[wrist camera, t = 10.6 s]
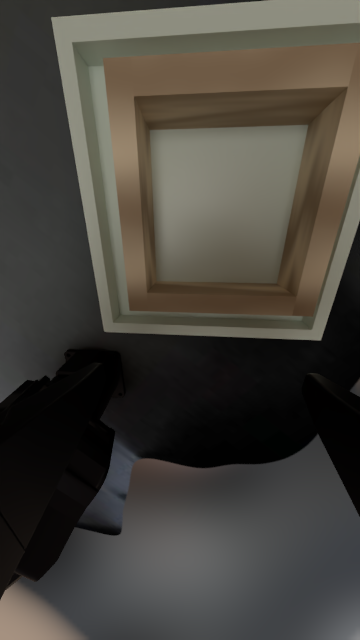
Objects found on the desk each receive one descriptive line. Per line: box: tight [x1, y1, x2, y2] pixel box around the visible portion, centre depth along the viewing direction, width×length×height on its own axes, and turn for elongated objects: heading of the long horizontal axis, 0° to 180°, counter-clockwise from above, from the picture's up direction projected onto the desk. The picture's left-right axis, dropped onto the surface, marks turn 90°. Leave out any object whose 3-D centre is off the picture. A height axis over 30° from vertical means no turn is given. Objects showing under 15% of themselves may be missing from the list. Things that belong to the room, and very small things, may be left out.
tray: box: [51, 0, 360, 340], centre depth 16 cm, size 20×20×2 cm
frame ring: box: [103, 43, 360, 317], centre depth 15 cm, size 14×14×4 cm
